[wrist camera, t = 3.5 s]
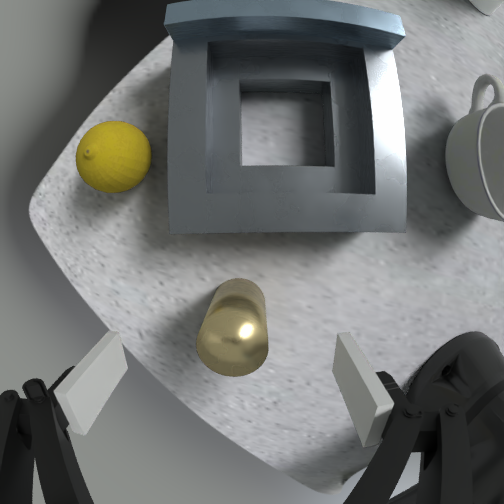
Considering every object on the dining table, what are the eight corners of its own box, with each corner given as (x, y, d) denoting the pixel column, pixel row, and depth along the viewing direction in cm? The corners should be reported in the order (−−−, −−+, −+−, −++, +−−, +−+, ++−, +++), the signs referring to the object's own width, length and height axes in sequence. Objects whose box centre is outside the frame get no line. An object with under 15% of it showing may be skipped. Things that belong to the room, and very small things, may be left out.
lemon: (100, 157, 23) (47, 148, 15) (145, 120, 22) (102, 93, 14) (127, 205, 24) (77, 210, 16) (175, 168, 23) (139, 156, 15)
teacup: (493, 223, 23) (542, 233, 16) (426, 208, 23) (480, 215, 16) (493, 109, 21) (537, 98, 13) (426, 77, 21) (470, 51, 13)
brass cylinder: (265, 326, 26) (268, 376, 18) (215, 326, 26) (199, 375, 18) (265, 278, 25) (268, 314, 17) (211, 278, 25) (192, 314, 17)
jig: (373, 223, 24) (423, 237, 15) (190, 224, 24) (157, 239, 16) (363, 58, 21) (399, 15, 12) (191, 54, 21) (167, 4, 13)
